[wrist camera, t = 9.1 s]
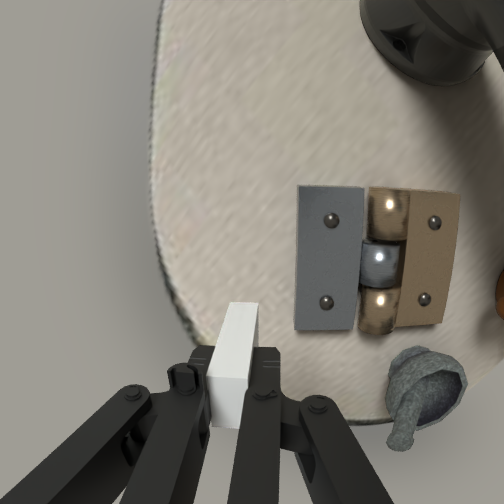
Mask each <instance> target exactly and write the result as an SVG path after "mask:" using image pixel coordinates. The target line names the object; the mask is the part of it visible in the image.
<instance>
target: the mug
mask: <svg viewBox="0 0 504 504" xmlns="http://www.w3.org/2000/svg"><path fill="white" fill-rule="evenodd" d="M496 300H497V305H496V310H497V313H498V315H499V316H500V317H501V318H502V319H503V320H504V270H503V272H502V274H501V276H500V278H499V281H498V284H497V288H496Z"/></svg>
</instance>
